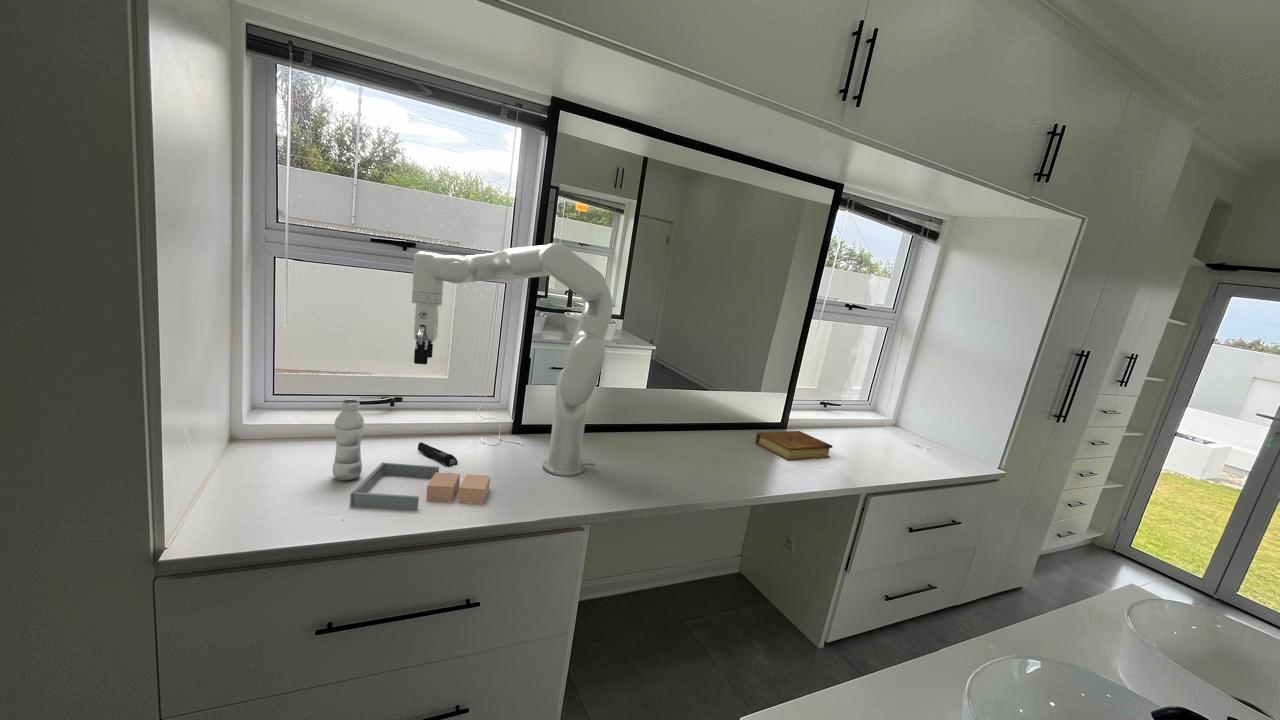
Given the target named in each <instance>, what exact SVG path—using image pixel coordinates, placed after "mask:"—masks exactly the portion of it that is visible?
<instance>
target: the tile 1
mask: <svg viewBox="0 0 1280 720" xmlns="http://www.w3.org/2000/svg"><path fill="white" fill-rule="evenodd" d="M460 478H461V474H460V473H455V472H454V473H453V472H440V471H439V472H435V474H434V475H433V477H432V478H430V480H429V482H428V483H427V485H426V498H425V499H426V501H431V500H432V501H433V502H434V501H435V502H436V501H437V502H450V501H452V500H454V499H455V497H454V496H456V495H457V492H458V491H459V487H460ZM455 494H456V495H455ZM453 498H454V499H453ZM452 502H453V501H452Z"/></svg>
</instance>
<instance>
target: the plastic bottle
mask: <svg viewBox="0 0 1280 720" xmlns="http://www.w3.org/2000/svg"><path fill="white" fill-rule="evenodd" d="M359 403H360V401H359V400H356V399H344V400H342V402H341V407H340V409H341V412H340V413H339V414H338V415H337V416H336V418H335V420H334V431H335V440H336V441H335V443H336V444H335V445H336V446H335V448H336V450H335V456H334V461H333V464H332V475H333V476H334V479H336V480H339V481H351V480H354V479H357V478H358V477H359V476H360V475H361V474H362V470H363V462H362V457H361V456H362V455H361V454H362V451H361V444H362V443H361V442H362V435H363V432H364V427H365V426H364V425H365V420H364V417H363V416H362V414H361V413H360V411H359V410H360V406H359V405H360V404H359Z"/></svg>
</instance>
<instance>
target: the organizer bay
mask: <svg viewBox="0 0 1280 720" xmlns="http://www.w3.org/2000/svg"><path fill="white" fill-rule="evenodd" d="M435 472H439V473H440V466H435V465H421V464H411V463H410V464H407V463H393V462H381V463H380V464H378V466H377V467H375V469H373V470H372V471H371V473H369V475H368V476H366V478H364V480H362V482H360V483H359V484H358V485H357V487H355V489H353V490H352V491H351V492H350V496H349V498H350V500H349V507H362V508H378V509H379V508H381V509H396V510H397V509H399V510H410V511H411V510H413V511H417V510H418V509H419V498H420V496H419V495H406V494H404V495H403V494H391V493H389V494H388V493H373V492H369V490H370V489H372V487H374V486H375V484H376V483H377V482H378V481H379V480H380V479H381V477H382V476H383V475H385V476H396V477H397V476H398V477H413V478H422V479H423V478H425V479H432V477H433V475H434V474H435Z"/></svg>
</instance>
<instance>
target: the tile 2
mask: <svg viewBox="0 0 1280 720" xmlns="http://www.w3.org/2000/svg"><path fill="white" fill-rule="evenodd" d="M490 483H491V475H482V474H468V473H467V474H465V476H464V478H463V480H462V482H461V484H459V488H458V496H457V497H458V500H457V503H464V502H472V503H471V504H479V503H483V504H484V503H485V500H486V498H487V495H488V494H489V491H490V485H491V484H490Z"/></svg>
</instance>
